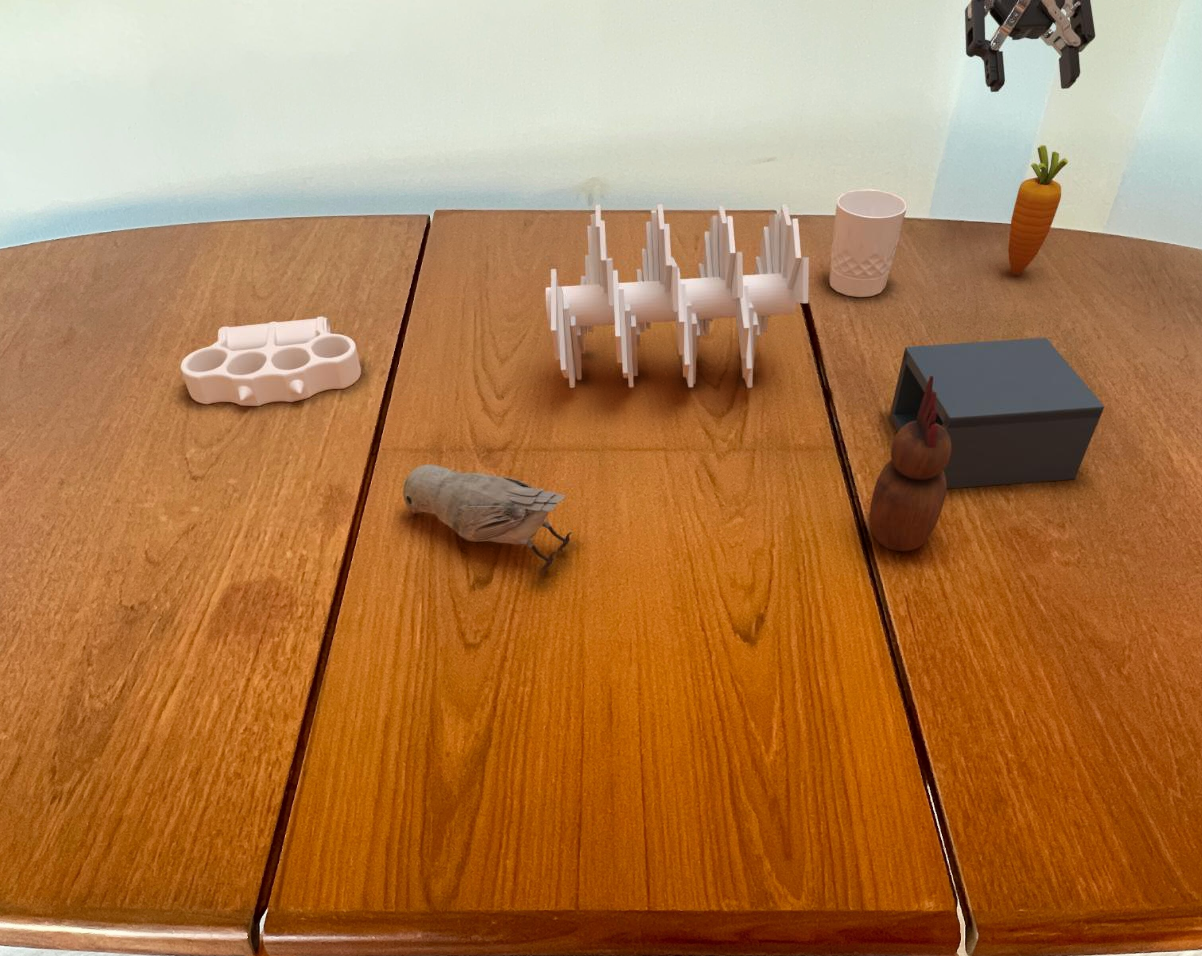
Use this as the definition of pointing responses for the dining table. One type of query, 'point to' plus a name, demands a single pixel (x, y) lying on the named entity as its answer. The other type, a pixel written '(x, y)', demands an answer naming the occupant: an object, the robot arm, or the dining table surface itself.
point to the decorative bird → (483, 505)
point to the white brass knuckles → (271, 363)
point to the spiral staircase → (679, 293)
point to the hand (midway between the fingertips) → (1033, 86)
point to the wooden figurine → (912, 481)
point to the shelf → (1001, 409)
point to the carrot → (1034, 211)
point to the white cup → (865, 241)
